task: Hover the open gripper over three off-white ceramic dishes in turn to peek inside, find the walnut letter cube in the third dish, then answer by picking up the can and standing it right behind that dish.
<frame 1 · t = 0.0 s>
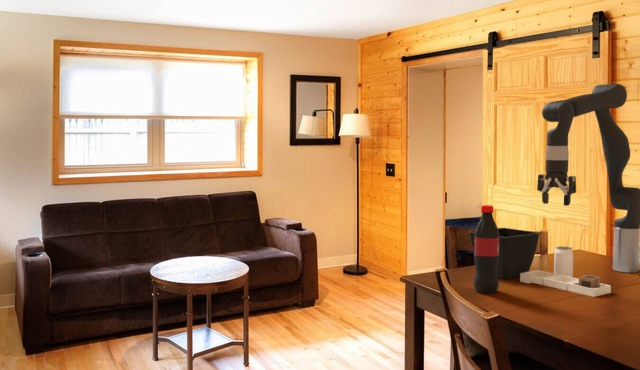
hand: (555, 204, 218), 29 cm above the table, tool pointing down, fingers open, 8 cm apart
flower pot: (503, 275, 238), on the table
letter cube: (589, 291, 208), point 1 cm above the table, touching dish c
dish b: (563, 287, 217), on the table
dish c: (589, 293, 209), on the table
can: (563, 280, 230), on the table
dish a: (539, 282, 225), on the table
cola bottle: (485, 291, 213), on the table
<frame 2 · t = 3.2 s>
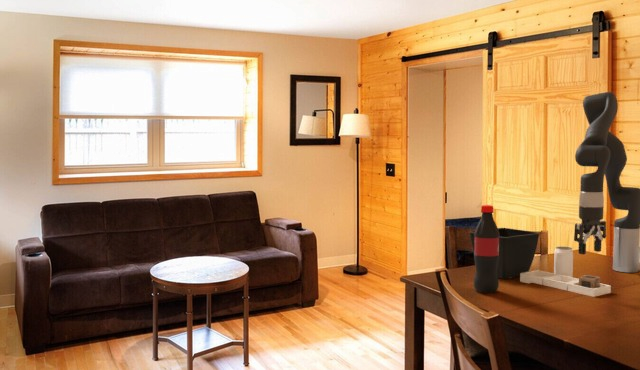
hand: (589, 252, 208), 14 cm above the table, tool pointing down, fingers open, 8 cm apart
nothing on the table moved.
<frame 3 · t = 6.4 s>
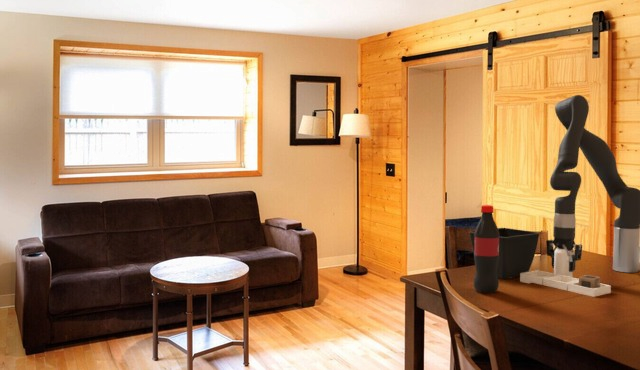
hand: (563, 269, 229), 4 cm above the table, tool pointing down, fingers closed on can, 6 cm apart
can: (563, 280, 230), on the table, touching gripper
everything else where it was.
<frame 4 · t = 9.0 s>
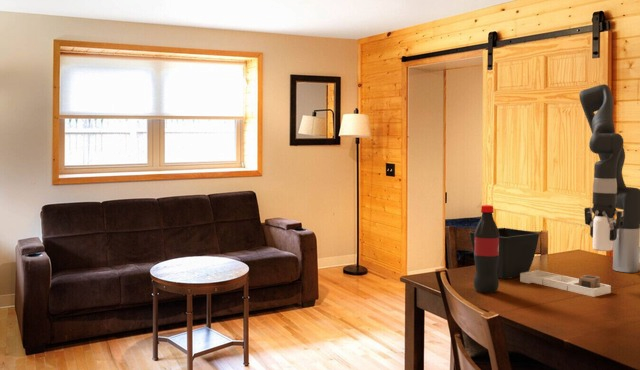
hand: (603, 238, 214), 18 cm above the table, tool pointing down, fingers closed on can, 6 cm apart
can: (602, 250, 214), point 14 cm above the table, touching gripper
everything else where it was.
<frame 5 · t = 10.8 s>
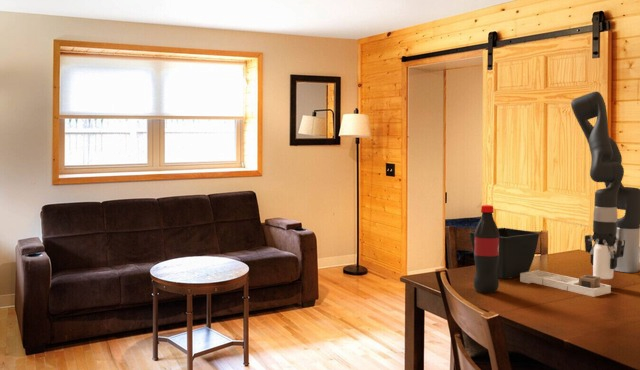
hand: (603, 266, 214), 8 cm above the table, tool pointing down, fingers closed on can, 6 cm apart
can: (602, 278, 215), point 4 cm above the table, touching gripper
everything else where it was.
when the fingers open (5 cm above the table, at t = 12.0 s): can drops 1 cm, on the table.
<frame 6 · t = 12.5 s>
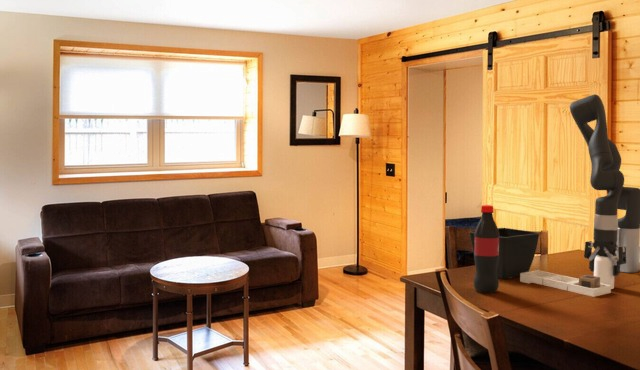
hand: (604, 273, 214), 6 cm above the table, tool pointing down, fingers open, 8 cm apart
can: (603, 289, 215), on the table
everything else where it was.
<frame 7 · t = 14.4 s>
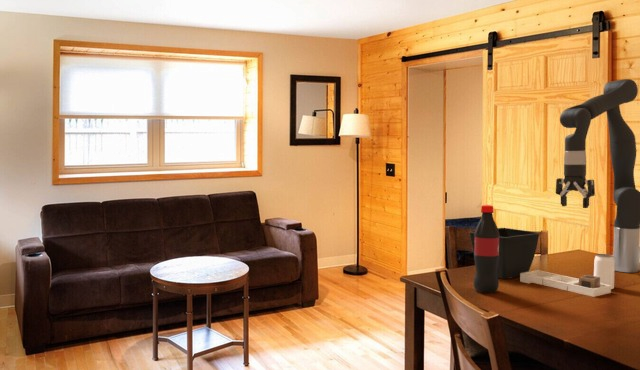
hand: (574, 207, 227), 27 cm above the table, tool pointing down, fingers open, 8 cm apart
nothing on the table moved.
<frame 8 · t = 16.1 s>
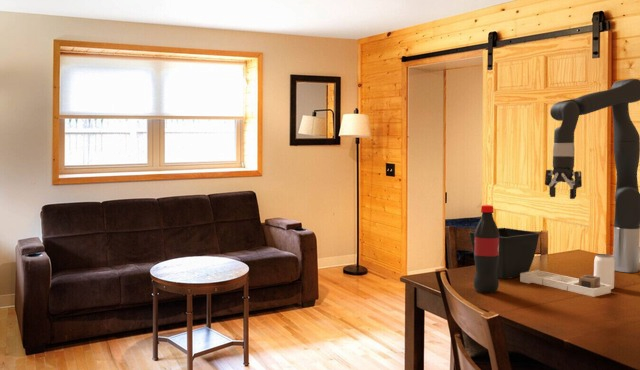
hand: (562, 197, 233), 30 cm above the table, tool pointing down, fingers open, 8 cm apart
nothing on the table moved.
at the end: can inside the target area (0.1 cm from its centre), on the table; can tilted 0°; letter cube inside the target area on the dish c (0.0 cm from its centre), point 0.8 cm above the dish c's base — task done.
